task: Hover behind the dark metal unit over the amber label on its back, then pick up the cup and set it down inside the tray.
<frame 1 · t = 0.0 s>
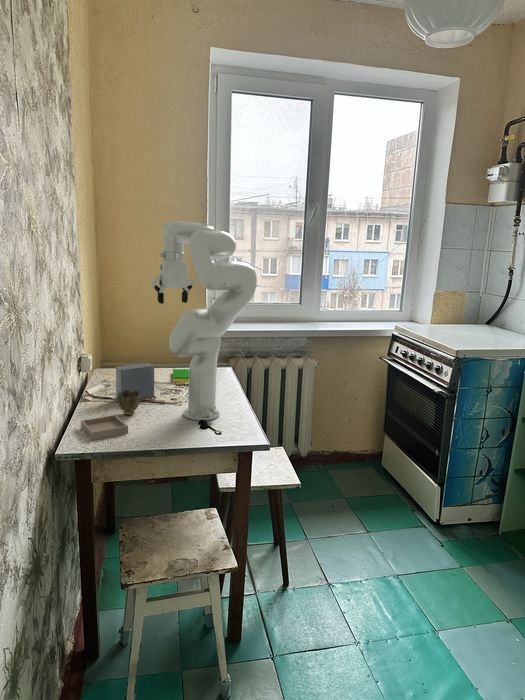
hand: (172, 302, 182), 37 cm above the table, tool pointing down, fingers open, 9 cm apart
dish sponge: (181, 378, 216), on the table
cup: (129, 415, 168), on the table
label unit: (135, 399, 184), on the table
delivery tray: (104, 430, 153), on the table
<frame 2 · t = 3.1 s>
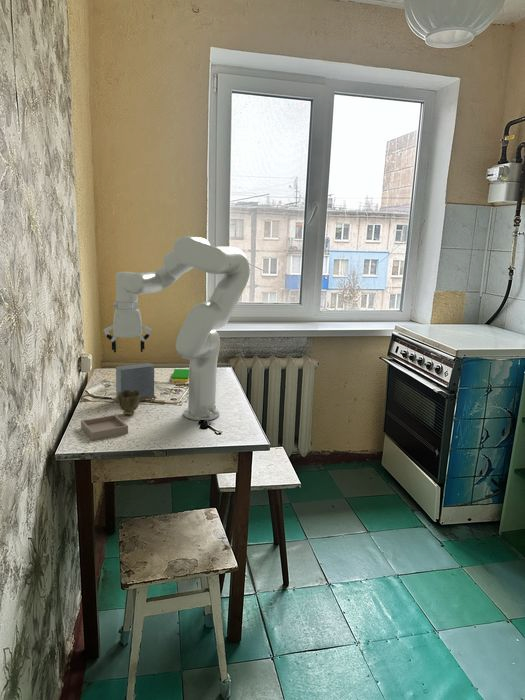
hand: (128, 351, 181), 18 cm above the table, tool pointing down, fingers open, 9 cm apart
nothing on the table moved.
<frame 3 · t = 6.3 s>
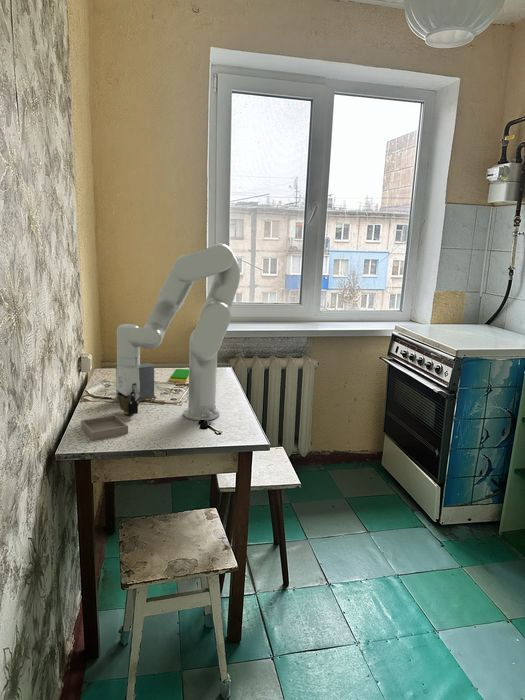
hand: (128, 410, 168), 2 cm above the table, tool pointing down, fingers closed on cup, 7 cm apart
cup: (128, 415, 168), on the table, touching gripper
everything else where it was.
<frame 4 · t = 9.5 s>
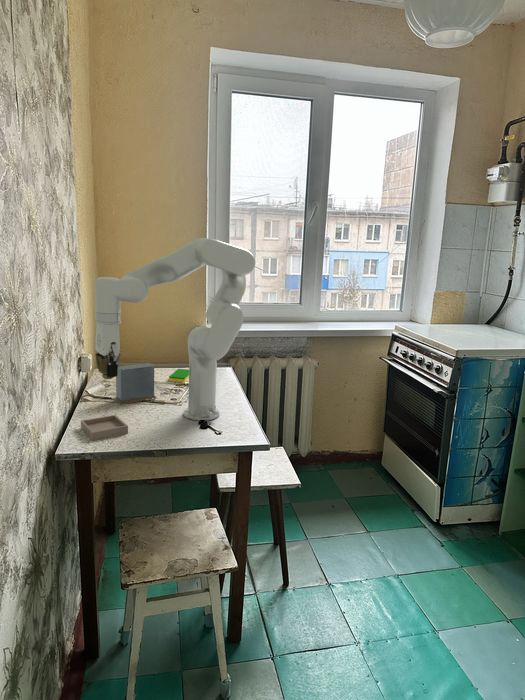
hand: (108, 373, 152), 18 cm above the table, tool pointing down, fingers closed on cup, 7 cm apart
cup: (108, 378, 153), point 16 cm above the table, touching gripper
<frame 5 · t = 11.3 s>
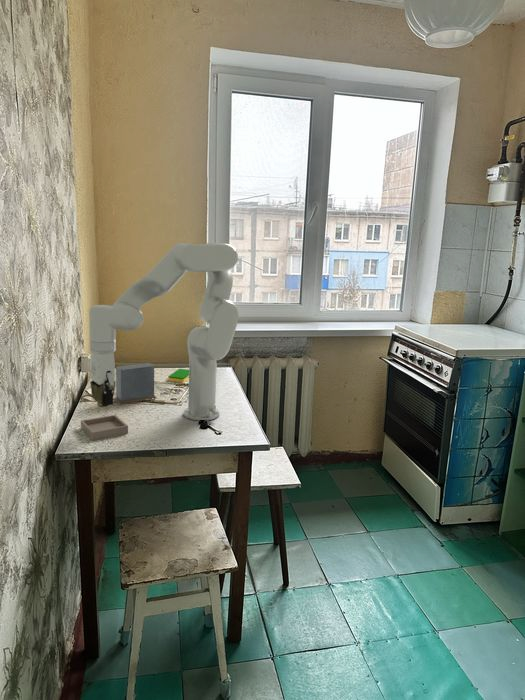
hand: (103, 401, 151), 10 cm above the table, tool pointing down, fingers closed on cup, 7 cm apart
cup: (103, 406, 152), point 8 cm above the table, touching gripper
when the fingers open (4 cm above the table, at t = 12.9 s): cup drops 1 cm, resting on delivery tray.
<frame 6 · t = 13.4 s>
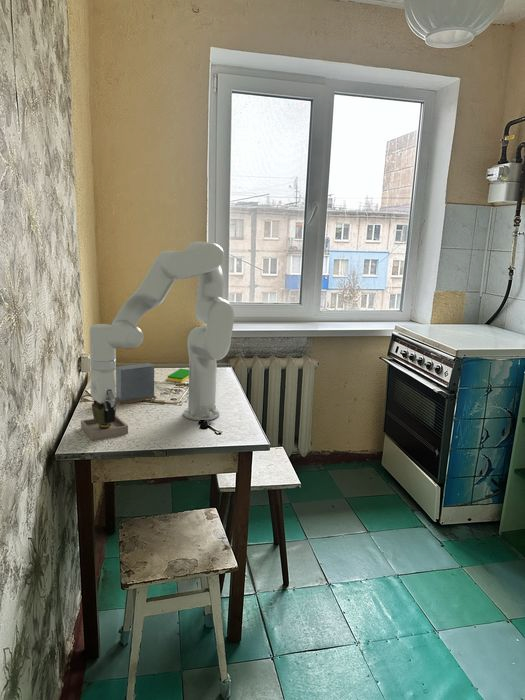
hand: (104, 417, 152), 5 cm above the table, tool pointing down, fingers open, 9 cm apart
cup: (104, 428, 153), point 1 cm above the table, touching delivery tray
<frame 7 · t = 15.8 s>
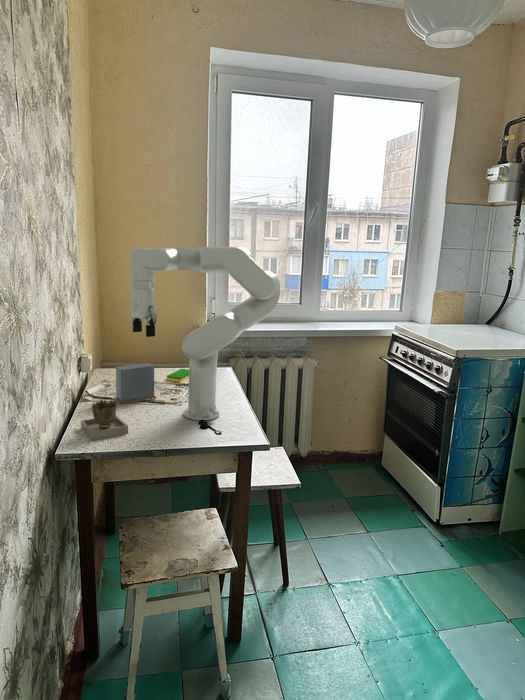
hand: (143, 334, 169), 27 cm above the table, tool pointing down, fingers open, 9 cm apart
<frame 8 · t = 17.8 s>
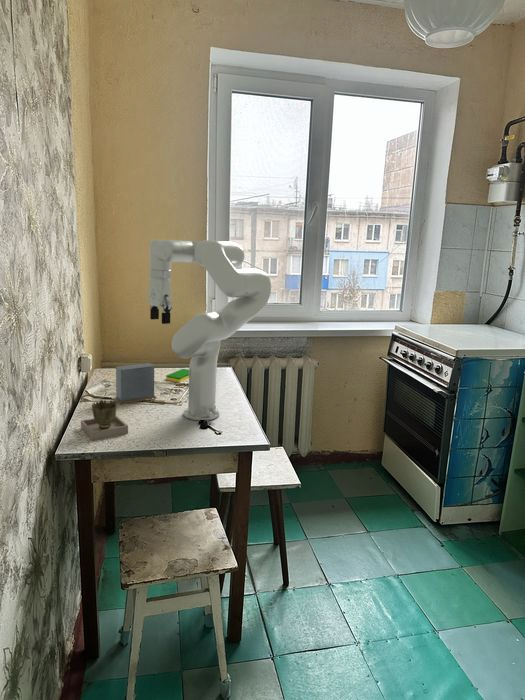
hand: (160, 321, 179), 30 cm above the table, tool pointing down, fingers open, 9 cm apart
at the end: cup 0.1 cm off-centre on the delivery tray, point 0.8 cm above the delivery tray's base; cup tilted 0°; the gripper is holding nothing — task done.
